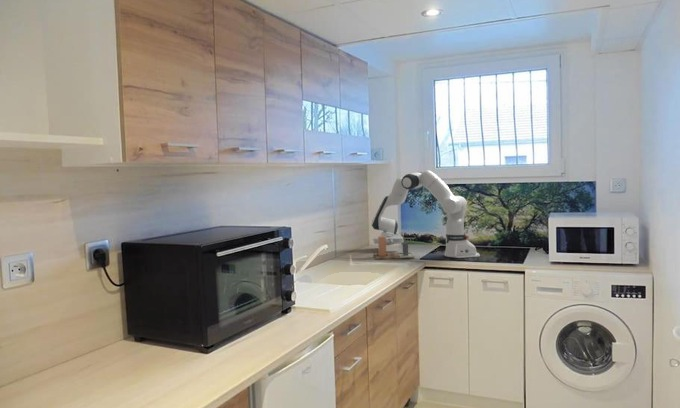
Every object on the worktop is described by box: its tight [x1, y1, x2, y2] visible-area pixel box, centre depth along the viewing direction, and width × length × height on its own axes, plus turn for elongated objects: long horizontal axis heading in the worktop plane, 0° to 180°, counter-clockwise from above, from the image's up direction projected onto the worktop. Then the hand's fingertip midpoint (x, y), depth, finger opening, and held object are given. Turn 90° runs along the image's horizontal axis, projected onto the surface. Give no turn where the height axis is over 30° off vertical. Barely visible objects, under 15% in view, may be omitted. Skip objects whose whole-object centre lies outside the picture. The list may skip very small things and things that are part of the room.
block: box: [377, 235, 387, 256], centre depth 329 cm, size 4×4×13 cm
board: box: [373, 251, 415, 261], centre depth 327 cm, size 24×18×2 cm
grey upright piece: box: [399, 241, 414, 258], centre depth 320 cm, size 8×8×9 cm
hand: (389, 241), depth 341 cm, fingers closed
